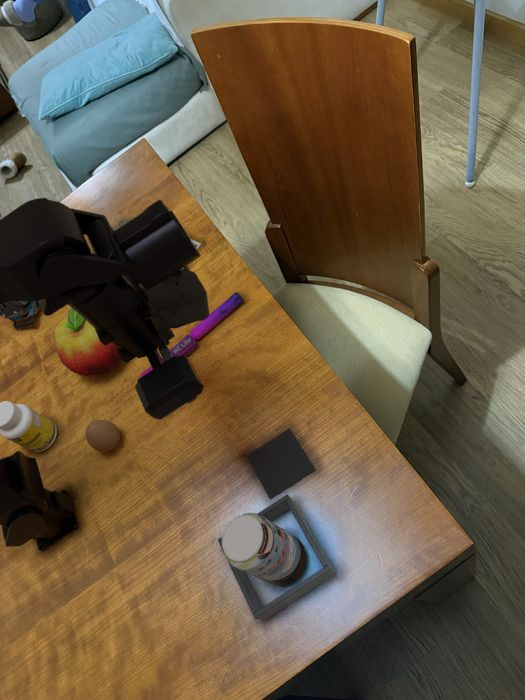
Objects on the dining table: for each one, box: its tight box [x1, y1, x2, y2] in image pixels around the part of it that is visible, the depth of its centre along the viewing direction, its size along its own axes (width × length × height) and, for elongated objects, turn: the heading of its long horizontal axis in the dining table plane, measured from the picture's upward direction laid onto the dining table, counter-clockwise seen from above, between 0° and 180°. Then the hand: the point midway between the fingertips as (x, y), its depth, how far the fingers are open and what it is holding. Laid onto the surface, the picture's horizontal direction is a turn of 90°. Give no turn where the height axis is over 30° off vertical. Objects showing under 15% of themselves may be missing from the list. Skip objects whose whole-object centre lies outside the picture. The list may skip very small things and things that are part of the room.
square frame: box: [217, 494, 337, 622], centre depth 69 cm, size 10×10×4 cm
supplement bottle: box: [0, 400, 58, 453], centre depth 87 cm, size 5×5×10 cm
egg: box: [84, 419, 121, 453], centre depth 84 cm, size 4×4×6 cm
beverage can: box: [221, 512, 307, 587], centre depth 66 cm, size 6×7×12 cm
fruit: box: [53, 307, 122, 378], centre depth 90 cm, size 11×11×10 cm
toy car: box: [0, 301, 41, 330], centre depth 104 cm, size 6×12×6 cm, turn 173°
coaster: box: [246, 427, 316, 501], centre depth 77 cm, size 7×7×1 cm
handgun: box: [139, 291, 244, 378], centre depth 88 cm, size 21×8×2 cm, turn 129°
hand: (179, 371), depth 71 cm, fingers open, 9 cm apart
